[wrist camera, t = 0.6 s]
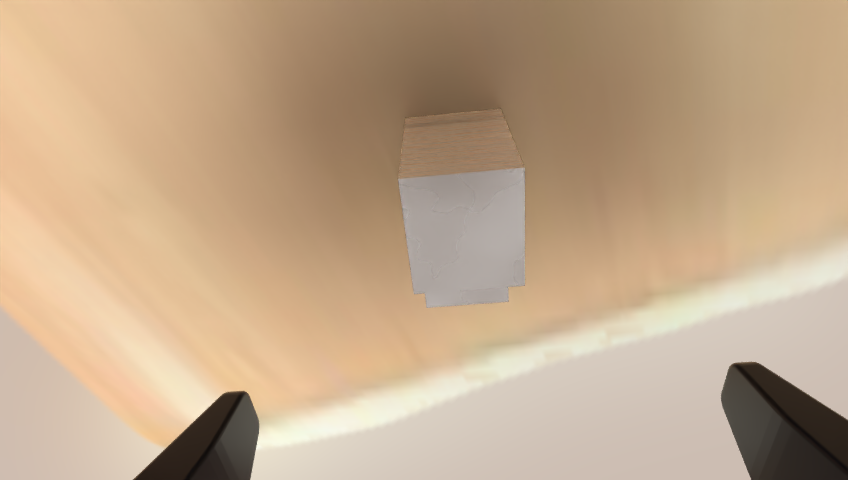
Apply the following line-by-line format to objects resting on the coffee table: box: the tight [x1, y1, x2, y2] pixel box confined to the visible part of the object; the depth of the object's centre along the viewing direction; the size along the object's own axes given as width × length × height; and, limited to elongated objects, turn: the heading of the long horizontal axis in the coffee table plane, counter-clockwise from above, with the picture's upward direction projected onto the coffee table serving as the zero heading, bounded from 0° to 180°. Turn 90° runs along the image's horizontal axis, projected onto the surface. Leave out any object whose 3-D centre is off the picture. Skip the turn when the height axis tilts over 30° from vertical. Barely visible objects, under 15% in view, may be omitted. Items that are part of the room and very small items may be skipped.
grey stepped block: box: [398, 108, 525, 308], centre depth 19 cm, size 4×8×6 cm, turn 6°
